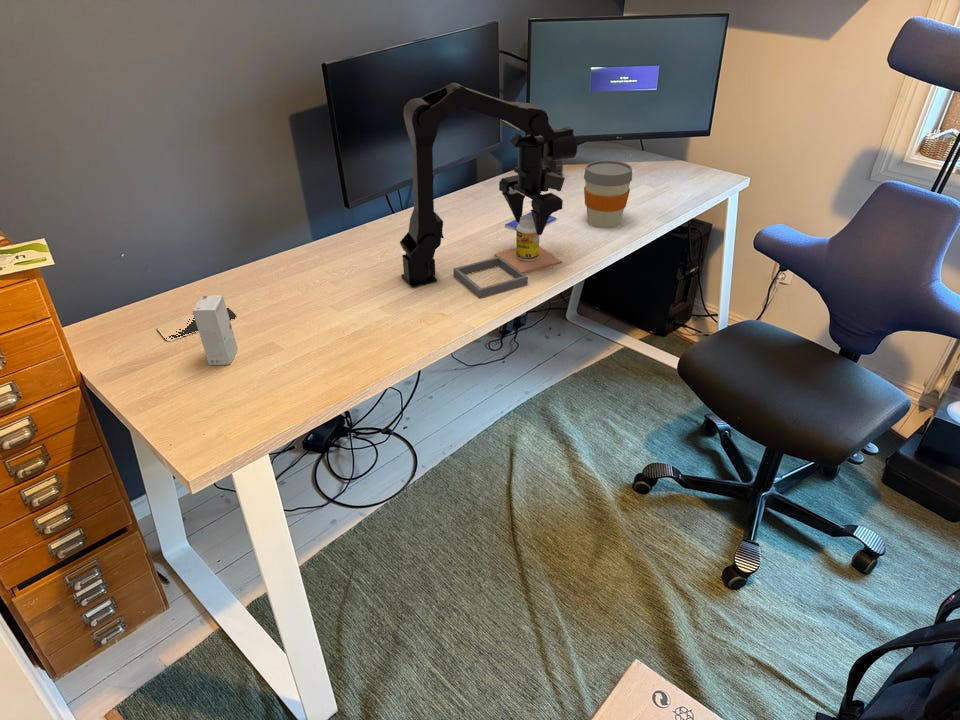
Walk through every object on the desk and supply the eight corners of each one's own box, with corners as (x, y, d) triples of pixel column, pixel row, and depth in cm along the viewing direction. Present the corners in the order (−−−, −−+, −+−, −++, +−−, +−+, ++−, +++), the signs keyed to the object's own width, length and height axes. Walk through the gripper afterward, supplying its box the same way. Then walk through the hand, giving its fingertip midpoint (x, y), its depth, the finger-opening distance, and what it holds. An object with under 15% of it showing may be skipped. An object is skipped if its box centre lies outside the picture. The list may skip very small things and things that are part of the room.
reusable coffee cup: (571, 221, 186) (574, 167, 177) (600, 209, 192) (605, 157, 184) (606, 234, 178) (612, 179, 169) (636, 221, 185) (643, 167, 176)
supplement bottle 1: (511, 258, 166) (511, 218, 160) (525, 250, 169) (526, 211, 164) (529, 264, 163) (530, 224, 157) (543, 256, 166) (544, 217, 161)
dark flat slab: (238, 316, 145) (166, 340, 137) (238, 320, 145) (167, 344, 137) (224, 303, 149) (154, 326, 142) (225, 307, 150) (156, 329, 142)
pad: (519, 274, 160) (519, 272, 159) (494, 255, 168) (494, 253, 168) (561, 262, 165) (561, 260, 164) (534, 245, 173) (534, 243, 173)
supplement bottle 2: (560, 173, 218) (562, 136, 211) (564, 181, 213) (566, 142, 206) (539, 174, 218) (540, 136, 211) (542, 181, 212) (543, 143, 206)
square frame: (479, 298, 150) (479, 290, 149) (453, 276, 160) (453, 268, 158) (527, 284, 155) (527, 276, 154) (499, 263, 165) (499, 256, 163)
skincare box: (231, 365, 130) (216, 310, 123) (207, 366, 130) (191, 311, 123) (238, 347, 135) (224, 294, 128) (215, 348, 135) (200, 295, 128)
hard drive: (532, 210, 190) (504, 223, 183) (556, 217, 186) (528, 231, 178) (532, 215, 191) (504, 229, 184) (556, 222, 187) (528, 236, 179)
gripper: (584, 168, 150) (579, 234, 158) (537, 147, 163) (535, 209, 172) (542, 177, 145) (539, 245, 154) (497, 155, 159) (498, 217, 168)
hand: (528, 228), depth 162 cm, fingers open, 9 cm apart
